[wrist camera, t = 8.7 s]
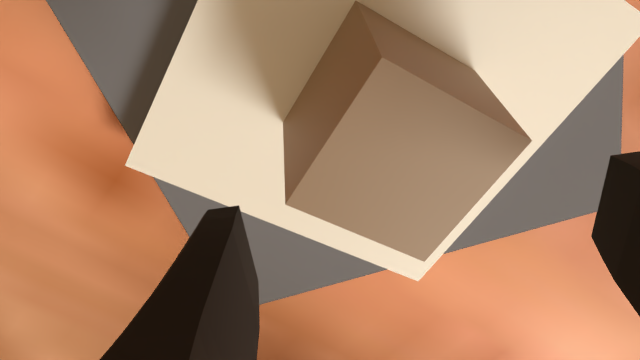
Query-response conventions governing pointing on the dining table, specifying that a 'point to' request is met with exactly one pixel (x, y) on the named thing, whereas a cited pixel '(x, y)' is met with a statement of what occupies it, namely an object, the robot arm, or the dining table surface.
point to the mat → (294, 249)
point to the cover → (373, 110)
